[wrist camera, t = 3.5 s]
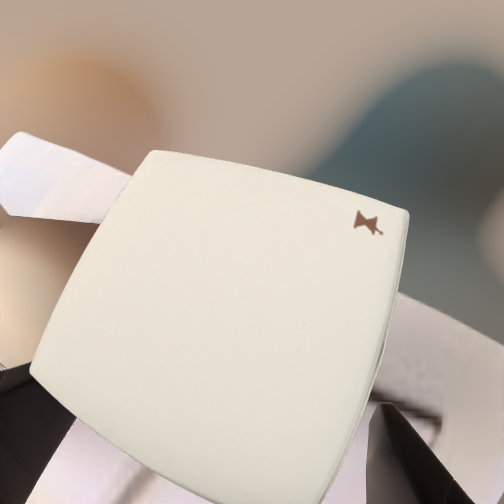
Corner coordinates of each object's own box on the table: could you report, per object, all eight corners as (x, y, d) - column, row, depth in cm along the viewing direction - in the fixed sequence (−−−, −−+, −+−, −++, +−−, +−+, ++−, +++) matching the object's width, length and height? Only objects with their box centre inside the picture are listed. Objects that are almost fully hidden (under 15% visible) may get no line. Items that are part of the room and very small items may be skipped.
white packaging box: (228, 289, 19) (153, 138, 8) (337, 328, 17) (422, 204, 6) (180, 392, 16) (18, 368, 5) (293, 440, 14) (312, 541, 3)
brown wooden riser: (90, 404, 16) (53, 401, 12) (-7, 344, 18) (-36, 332, 15) (133, 251, 21) (108, 224, 18) (30, 235, 24) (7, 214, 20)
